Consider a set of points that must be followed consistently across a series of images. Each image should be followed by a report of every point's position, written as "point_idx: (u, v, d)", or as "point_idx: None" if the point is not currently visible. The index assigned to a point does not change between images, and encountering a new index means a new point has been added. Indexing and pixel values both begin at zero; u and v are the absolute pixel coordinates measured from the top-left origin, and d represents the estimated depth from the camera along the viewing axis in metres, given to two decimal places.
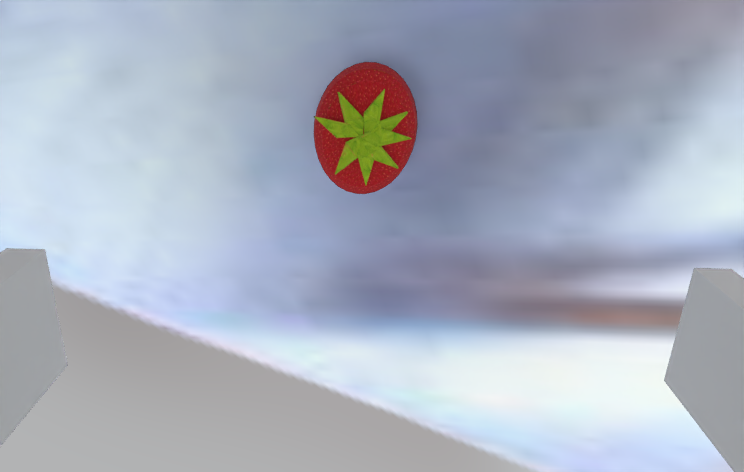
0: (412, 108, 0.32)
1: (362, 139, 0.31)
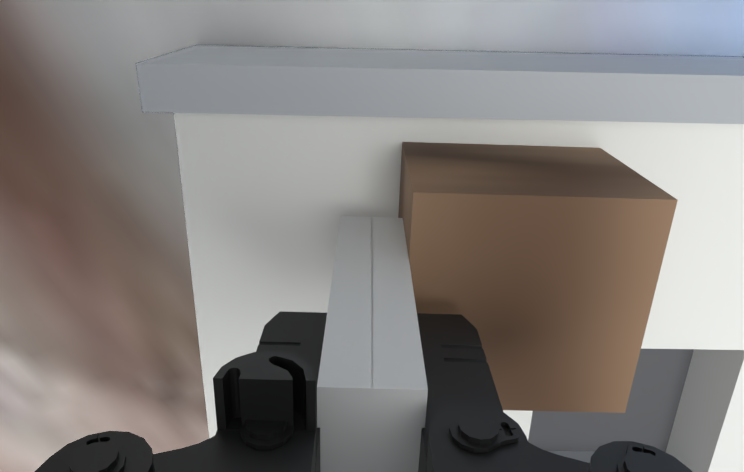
0: None
1: None
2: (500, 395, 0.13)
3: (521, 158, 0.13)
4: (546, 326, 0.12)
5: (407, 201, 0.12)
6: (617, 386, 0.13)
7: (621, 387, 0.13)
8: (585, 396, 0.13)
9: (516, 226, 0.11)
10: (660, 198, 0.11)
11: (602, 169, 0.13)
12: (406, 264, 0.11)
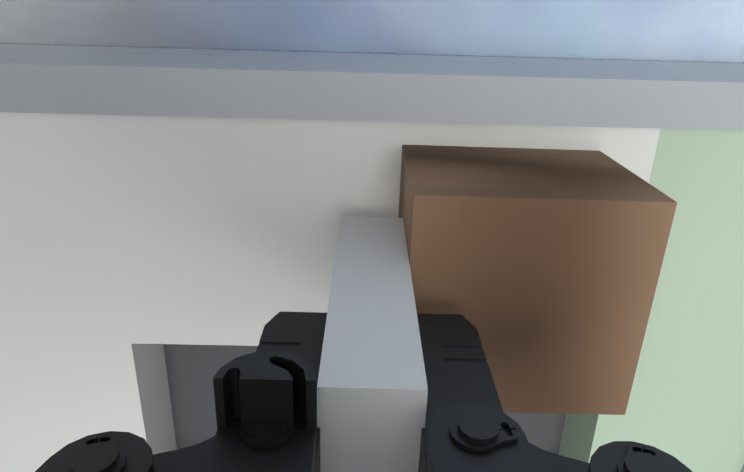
0: None
1: None
2: (500, 397, 0.13)
3: (521, 161, 0.13)
4: (546, 328, 0.12)
5: (407, 204, 0.12)
6: (617, 388, 0.13)
7: (621, 389, 0.13)
8: (585, 398, 0.13)
9: (516, 228, 0.11)
10: (660, 201, 0.11)
11: (601, 172, 0.13)
12: (406, 264, 0.11)
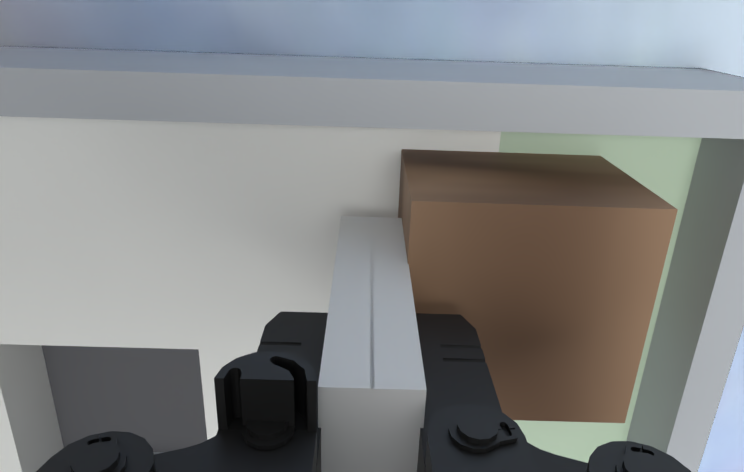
0: None
1: None
2: None
3: (521, 166, 0.13)
4: (545, 336, 0.12)
5: (406, 209, 0.12)
6: (617, 396, 0.13)
7: (621, 397, 0.13)
8: (585, 406, 0.13)
9: (514, 235, 0.11)
10: (660, 208, 0.11)
11: (601, 177, 0.13)
12: (405, 264, 0.11)
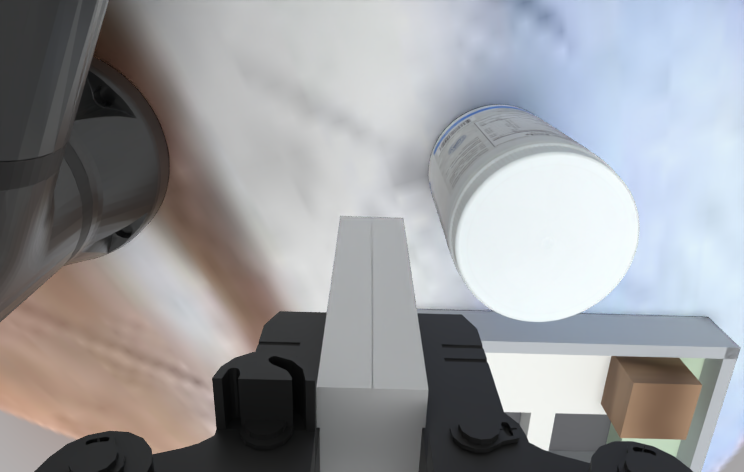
0: None
1: None
2: (650, 434, 0.44)
3: (653, 362, 0.44)
4: (665, 415, 0.43)
5: (624, 379, 0.43)
6: (684, 432, 0.44)
7: (685, 432, 0.44)
8: (674, 435, 0.44)
9: (659, 390, 0.42)
10: (698, 384, 0.42)
11: (679, 368, 0.44)
12: (406, 264, 0.11)
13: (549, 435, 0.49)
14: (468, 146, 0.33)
